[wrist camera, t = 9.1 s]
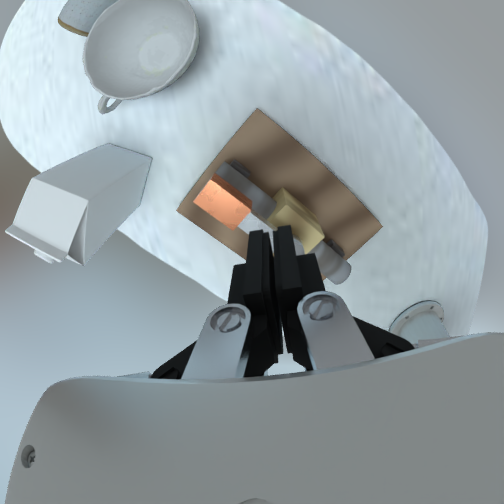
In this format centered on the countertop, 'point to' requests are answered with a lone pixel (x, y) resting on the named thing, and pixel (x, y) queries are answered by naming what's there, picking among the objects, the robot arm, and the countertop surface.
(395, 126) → the countertop surface
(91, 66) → the teacup
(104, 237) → the milk carton
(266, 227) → the valve lever
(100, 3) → the ceramic mug
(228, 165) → the stand
